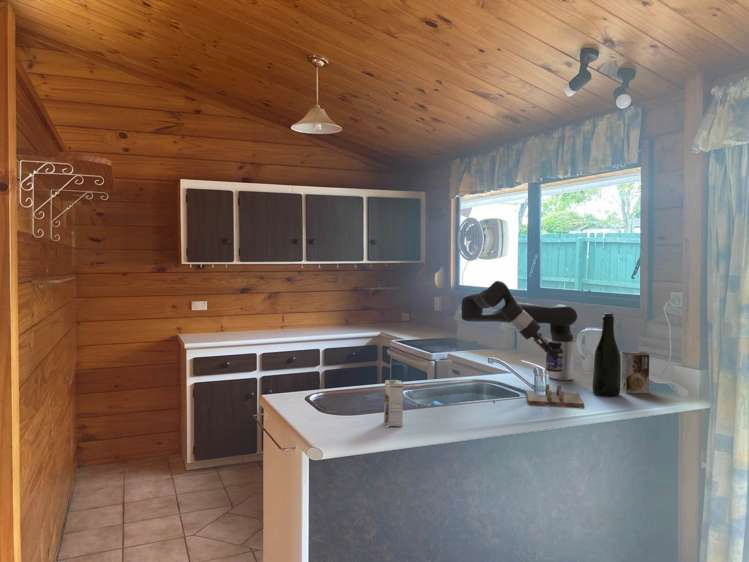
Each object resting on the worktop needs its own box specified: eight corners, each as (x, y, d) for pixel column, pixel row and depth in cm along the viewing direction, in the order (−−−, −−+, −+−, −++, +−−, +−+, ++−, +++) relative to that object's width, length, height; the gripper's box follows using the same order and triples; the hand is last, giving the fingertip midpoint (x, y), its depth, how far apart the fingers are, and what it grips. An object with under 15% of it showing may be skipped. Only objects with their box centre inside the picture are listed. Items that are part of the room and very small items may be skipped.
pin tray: (528, 404, 223) (528, 391, 222) (526, 394, 238) (526, 381, 238) (584, 407, 219) (584, 394, 218) (578, 397, 234) (578, 384, 234)
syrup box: (383, 422, 199) (383, 379, 198) (401, 422, 199) (401, 379, 198) (385, 427, 193) (385, 383, 192) (403, 427, 194) (403, 383, 193)
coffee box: (643, 390, 246) (644, 351, 246) (648, 393, 240) (650, 354, 239) (620, 389, 247) (621, 351, 246) (625, 393, 241) (626, 354, 240)
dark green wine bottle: (623, 393, 240) (625, 312, 238) (616, 398, 232) (619, 315, 230) (596, 389, 246) (598, 311, 244) (589, 394, 238) (591, 313, 236)
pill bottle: (560, 372, 224) (561, 344, 223) (543, 370, 227) (544, 342, 226) (564, 370, 229) (565, 341, 228) (548, 368, 232) (549, 340, 231)
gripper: (517, 328, 237) (547, 359, 235) (518, 333, 223) (550, 366, 221) (531, 315, 235) (561, 346, 234) (533, 320, 221) (565, 353, 220)
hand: (555, 356), depth 227 cm, fingers closed on pill bottle, 6 cm apart
